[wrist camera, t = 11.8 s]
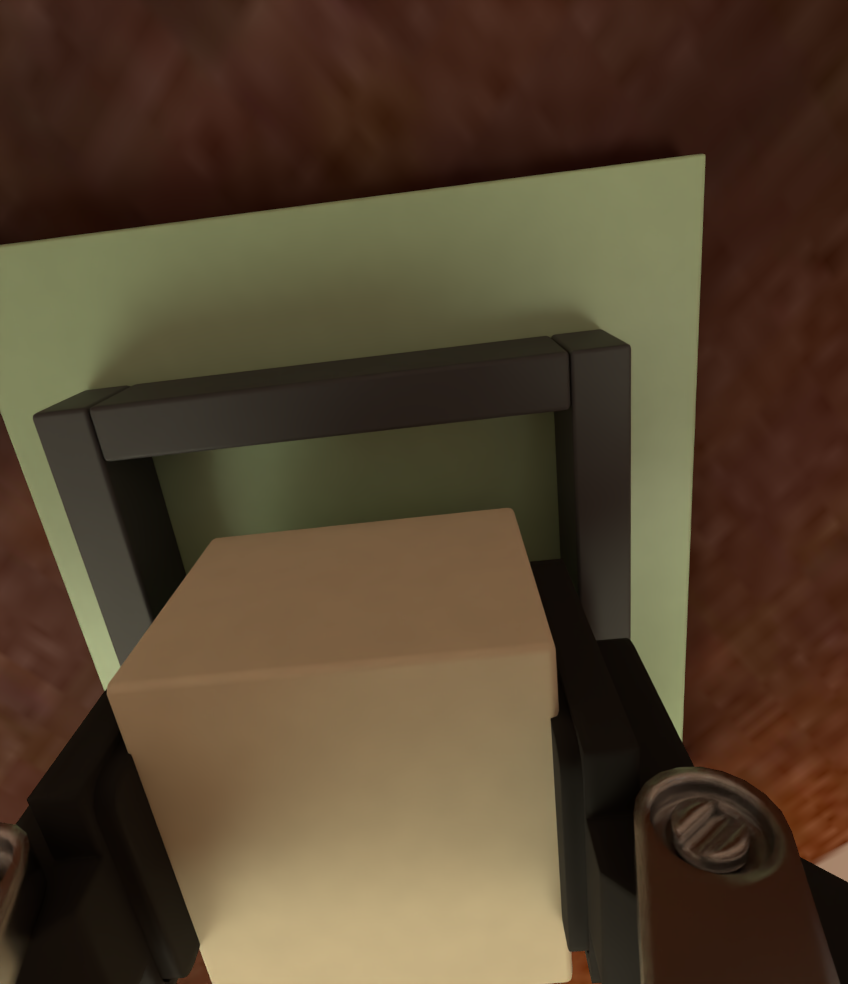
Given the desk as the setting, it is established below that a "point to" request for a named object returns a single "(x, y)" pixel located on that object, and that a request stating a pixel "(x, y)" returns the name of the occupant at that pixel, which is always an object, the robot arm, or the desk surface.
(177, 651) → the cream block
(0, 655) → the desk surface
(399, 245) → the backing plate
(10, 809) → the desk surface
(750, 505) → the desk surface
